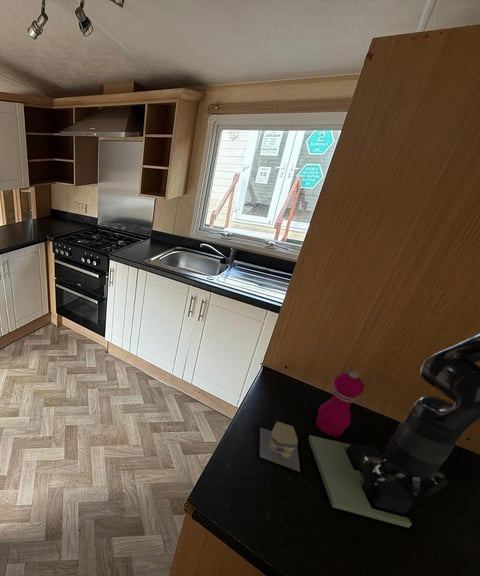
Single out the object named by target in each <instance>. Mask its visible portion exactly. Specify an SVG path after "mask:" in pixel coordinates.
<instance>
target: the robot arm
mask: <svg viewBox="0 0 480 576" xmlns="http://www.w3.org/2000/svg"><path fill="white" fill-rule="evenodd" d="M477 363H480V332H478V333H477V334H475V335H473V336H471V337H469V338H466V339H464V340H463V341H460V342H458V343H456V344H454V345H452V346H449V347H447V348H444V349H442V350H439V351H438V352H437V351H436V353H433V354H431V355H429V357H427V358H426V359H425V360H424V361H423V362H422V363H421V366H420V369H419V370H420V372H419V374H420V376H421V378H422V380H423V381H424V382H426V383H427V384H428V385H430V386H431V387H432V388H434V389H435V390H437V391H439V392H440V393H441V394H443V395H444V396H446V397H447V398H449V399H450V400H451V401H453V402H454V403H453V402H451V401H448V400H446V399H444V398H441V397H438V396H433V395H424V396H421V397H418V399H417V400H415V402H414V403H413V405H412V407H411V408H410V410H409V412H408V413H407V415H406V416H405V418H404V419H403V420H402V421H400V423H399V424H398V426H397V427H396V429H395V430H394V432H393V434H392V436H391V437H390V439H389V440H388V442H387V444H386V445H385V449H384V453H383V454H382V455H381V454H380V455H381V456H380V457H379V458H373V457H370V456H369V455H368V454H366V453H364V454H362V458H361V463H360V468H359V471H360V473H361V475H362V477H363V480H364V482H365V483H364V485H362V488H363V490H364V492H365V494H367V496H368V497H370V496H371V497H373V496H374V494H375V493H376V491H377V489H378V488H379V486H380V485H382V484H384V483H386V484H389V483H391V482H393V481H401V483H404V484H403V486H404V488H405V490H406V491H407V493H408V495H409V496H410V498H411V500H412V501H413V499H415V497H419V496H420V495H423V497H425V498H430V497H432V496H434V495H435V494H436V493H438V492H440V490H441V489H443V488H444V487H445V486H447V485H448V484H449V481H448V479H447V478H446V477H445V476H444V474H443V472H442V471H441V470H440V468H441V467H442V465H443V464H444V463H445V462H446V460H447V459H448V458H449V456H450V455H451V454H452V452H453V450H454V449H455V445H456V444H457V442H458V441H459V440H460V439H461V437H462V436H463V434H464V433H465V432H466V430H467V429H469V428H470V427H471V426H472V425H474V424H475V423H477V422H478V421H480V365H478V364H477ZM384 472H385V473H384ZM386 475H387V476H386ZM376 476H379V478H378V479H377V478H376ZM427 486H428V487H427ZM371 497H370V498H371Z"/></svg>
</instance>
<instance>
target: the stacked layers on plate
mask: <svg viewBox="0 0 480 576" xmlns="http://www.w3.org/2000/svg"><path fill="white" fill-rule="evenodd" d="M298 443H299V440H298V436H297V433H296V430H295V427H294V426H293V425H290V424H287V423H284V422H281V421H276V422H275V424H274V426H273V428H272V430H269V429H267V428H264V427H259V458H261V459H264V460H266V461H268V462H269V461H270V462H272V463H274V464H277V465H280V466H283V467H285V468H288V469H291V470H294V471H296V472H298V473H301V468H300V467H301V466H300V456H299V449H298Z"/></svg>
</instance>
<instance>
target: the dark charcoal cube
mask: <svg viewBox="0 0 480 576" xmlns="http://www.w3.org/2000/svg"><path fill="white" fill-rule="evenodd" d="M350 444H351V445H350V446H349V448H348V450H347V451H346V453H347V456H348V458H349V460H350V462H351V464H352V467H353V469H354V470H357V471H359V468H360V463H361V458H362V454H364V453H366V454H368V455H369V456H370V457H373V458H379V457H380V456H381V453H380V451H379V449H378V448H377V447H373V446H369V445H364V444H360V443H355V442H351V443H350ZM384 473H385V472H384ZM385 474H386V473H385Z"/></svg>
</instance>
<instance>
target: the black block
mask: <svg viewBox="0 0 480 576" xmlns="http://www.w3.org/2000/svg"><path fill="white" fill-rule="evenodd" d="M385 475H386V474H385ZM386 476H387V475H386ZM376 478H377V479H378V478H379V476H376ZM364 483H365V482H364ZM403 485H404V484H403V482H402V481H393V482H391V483H389V484H386V483H384V484H382V485H380V486H379V488H378V489H377V491H376V493H375V494H374V496H373V497H371V496H369V497H370V499H371V501H372V503H373V505H374V507H376V508H381V509H384V510H388V511H392V512H396V513H399V514H402V515H406V513H407V512H408V510H410V508H411V507H412V505H413V504H414V502H413V499H412V500H411V498H410V496H409V495H408V493H407V491H406V490H405V488H404V486H403Z"/></svg>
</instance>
